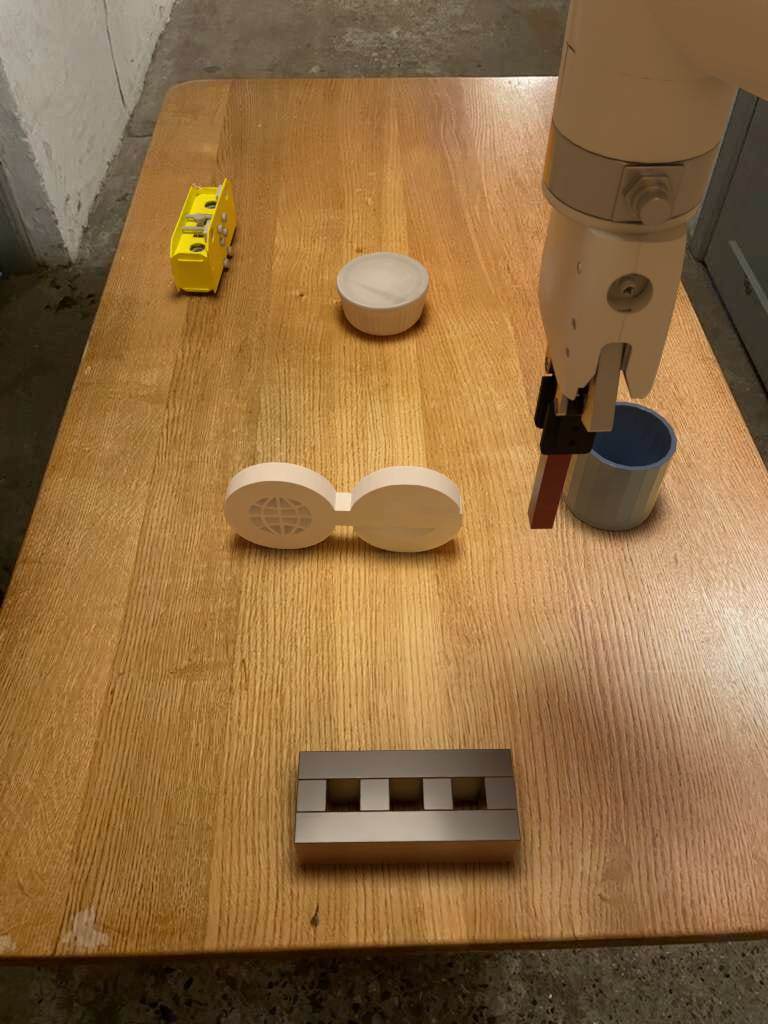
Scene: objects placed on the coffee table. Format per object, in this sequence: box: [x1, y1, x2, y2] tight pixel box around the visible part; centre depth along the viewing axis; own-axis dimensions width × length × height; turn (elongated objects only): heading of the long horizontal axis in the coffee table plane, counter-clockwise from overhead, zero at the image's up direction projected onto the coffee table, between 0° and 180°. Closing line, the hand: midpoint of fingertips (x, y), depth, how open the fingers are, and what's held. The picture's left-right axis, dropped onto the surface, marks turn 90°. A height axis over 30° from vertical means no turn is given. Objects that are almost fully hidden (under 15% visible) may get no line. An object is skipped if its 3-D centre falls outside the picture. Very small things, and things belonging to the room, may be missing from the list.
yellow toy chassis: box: [169, 177, 238, 294], centre depth 108 cm, size 16×6×8 cm, turn 177°
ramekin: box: [335, 251, 430, 337], centre depth 102 cm, size 11×11×5 cm
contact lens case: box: [223, 461, 464, 553], centre depth 78 cm, size 22×2×10 cm, turn 88°
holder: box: [293, 748, 522, 866], centre depth 63 cm, size 7×16×5 cm, turn 91°
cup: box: [562, 401, 678, 532], centre depth 82 cm, size 9×9×9 cm
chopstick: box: [527, 382, 589, 530], centre depth 54 cm, size 2×2×14 cm
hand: (561, 436), depth 53 cm, fingers closed on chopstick, 1 cm apart
